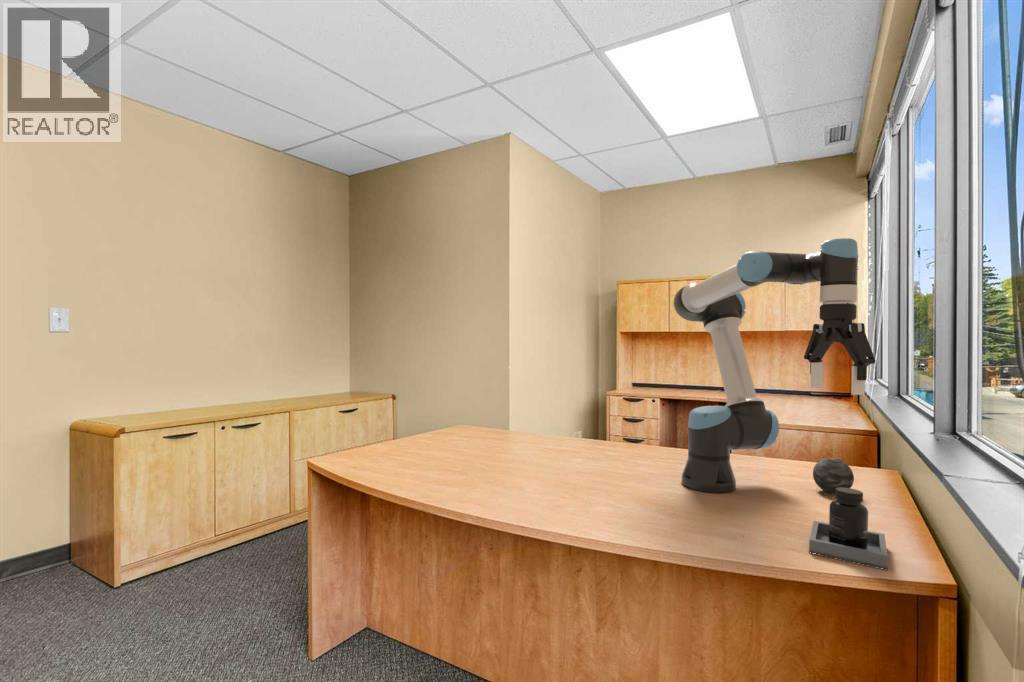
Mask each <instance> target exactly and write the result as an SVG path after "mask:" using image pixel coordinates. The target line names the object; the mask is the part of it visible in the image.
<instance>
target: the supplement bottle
mask: <svg viewBox="0 0 1024 682" xmlns="http://www.w3.org/2000/svg"><path fill="white" fill-rule="evenodd" d="M834 498H835V499H834V500H831V502H830V503H829V509H828V510H829V512H828V513H829V515H828V517H829V518H828V524H829V542H831V543H836V544H841V545H846V546H851V547H855V548H860V549H865V550H867V542H868V531H869V510H868V507H867V506H866V505H864V504H863V502H864V493H863V492H862V490H859V489H855V488H852V487H851V488H842V487H841V488H836V492H835V494H834Z"/></svg>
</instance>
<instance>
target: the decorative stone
mask: <svg viewBox="0 0 1024 682" xmlns="http://www.w3.org/2000/svg"><path fill="white" fill-rule="evenodd" d="M812 476H813V480H814V482H815V484H816V486H818V488H819V489H821V490H822V491H824V492H826V493H829V494H834V495H835V492H836V488H841V487H842V488H851V489H852V486H853V484H854V481H855V476H854V472H853V470H852V468H851V467H850V465H848V464H847V462H845V461H843V460H841V459H839V458H836V457H827V458H823V459H820V460H819V461H817V463H815V465H814V467H813V469H812Z"/></svg>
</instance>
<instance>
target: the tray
mask: <svg viewBox="0 0 1024 682" xmlns="http://www.w3.org/2000/svg"><path fill="white" fill-rule="evenodd" d="M808 541H809V543H808V544H809V545H808V546H809V547H808V553H809V552H811V553H816V554H820V555H823V556H822V557H825V556H827V557H826V558H829V557H832V558H831V559H834V558H837V559H836V560H838V559H841V560H840V561H843V560H845V561H844V562H847V561H850V562H849V563H852V562H855V563H854V564H856V563H860V564H859V565H861V564H864V565H863V566H865V565H869V566H868V567H870V566H873V567H872V568H874V567H878V568H877V569H879V568H883V569H887V570H888V557H889V556H888V548H887V542H886V535H885V534H884V533H880V532H875V531H869V530H868V542H867V550H865V549H860V548H855V547H851V546H846V545H841V544H836V543H831V542H829V522H828V523H827V522H823V521H817V520H813V523H812V527H811V532H810V535H809V539H808ZM811 553H810V554H811ZM816 554H815V555H816ZM820 555H819V556H820ZM883 569H882V570H883Z"/></svg>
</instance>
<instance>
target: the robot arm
mask: <svg viewBox="0 0 1024 682" xmlns="http://www.w3.org/2000/svg"><path fill="white" fill-rule="evenodd" d="M858 263H859V251H858V242H857V240H855V239H854V238H847V237H846V238H845V237H843V238H842V237H841V238H832V239H826V240H824V241H822V242H821V243H820V249H819V251H816V252H811V253H791V252H788V253H787V252H773V251H772V252H771V251H760V250H757V251H748V252H747V251H746V252H744V253H743V254H741V256H740V258H739V259H738V261H737V264H735V265H733V266H731V267H728V268H726V269H725V270H722V271H720V272H718V273H716V274H714V275H712V276H711V277H708V278H706V279H704V280H702V281H700V282H692V283H687V285H685V286H682V287H681V288H680V289H679V290H678V291H677V292H676V293H675V295H674V298H673V307H674V310H675V312H676V313H677V315H678V316H679V317H680V318H682V319H684V320H686V321H689V322H700V323H701V322H702V323H703V327H704V330H705V332H707V333H709V334H710V336H711V340H712V344H713V349H714V353H715V355H716V359H717V360H716V361H717V365H718V368H719V373H720V377H721V381H722V384H723V390H724V393H725V397H726V404H725V405H706V406H705V405H703V406H699V407H696V408H695V407H694V408H693V409H692V410H691V411H690V412H689V414H688V423H687V427H688V436H687V437H688V441H687V442H688V443H687V445H688V446H687V447H688V449H687V450H688V451H687V454H688V456H687V460H686V463H685V466H684V468H683V470H682V473H681V484H682V485H684V486H685V487H686V488H689V489H692V490H696V491H700V492H704V493H705V492H706V493H715V494H716V493H718V494H719V493H720V494H723V493H731V492H734V491H736V489H737V482H736V481H737V480H736V476H735V475H734V474H735V473H734V471H733V468H732V464H731V460H730V459H731V458H730V457H731V455H730V454H731V451H733V450H759V449H766V448H769V447H771V446H772V445H774V444H775V442H776V441H777V438H778V437H779V433H780V424H779V419H778V417H777V415H776V414H775V413H774V412H773V411H772V410H769V409H767V408H766V405H765V402H764V400H762V399H761V398H759V397H758V396H757V392H756V390H755V385H754V382H753V378H752V374H751V371H750V367H749V362H748V358H747V355H746V352H745V348H744V345H743V341H742V337H741V332H740V329H739V327H740V325H741V324H742V319H744V317H745V315H746V314H745V313H746V311H745V310H746V309H747V306H746V301H745V299H744V296H743V294H742V292H744V291H747V290H749V289H751V288H754V287H758V286H759V285H763V284H764V283H786V284H788V285H805V284H811V283H816V282H819V303H821V305H820V306H819V319H820V320H821V321H823V323H814V324H813V326H812V333H811V335H810V338H809V342H808V344H807V347H806V350H805V352H804V355H803V359H804V360H807V361H808V363H810V364H809V365H810V366H809V373H810V374H809V375H810V389H823V382H824V381H823V379H824V377H823V376H824V372H823V371H824V363H823V360H822V359H823V358H824V356H825V355H826V354H827V352H828V350H829V349H830V347H831V345H832V344H834V343H840V344H842V346H843V347H844V348H845V350H846V352H847V354H848V355H849V357H850V359H851V360H852V362H853V364H852V366H851V390H850V391H851V395H852V396H855V395H856V396H858V395H859V396H860V395H861V396H863V395H865V394H866V381H867V377H868V376H867V375H868V366H870V365H874V364H876V362H877V361H876V357H875V356H874V355H875V354H874V353H873V350H872V348H871V345H870V342H869V339H868V337H867V334H866V329H865V328H866V327H865V324H864V323H863V322H853V320H856V319H857V308H858V307H857V305H856V302H857V299H858V298H857V297H858V296H857V294H858V288H857V287H858V286H857V285H858Z"/></svg>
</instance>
